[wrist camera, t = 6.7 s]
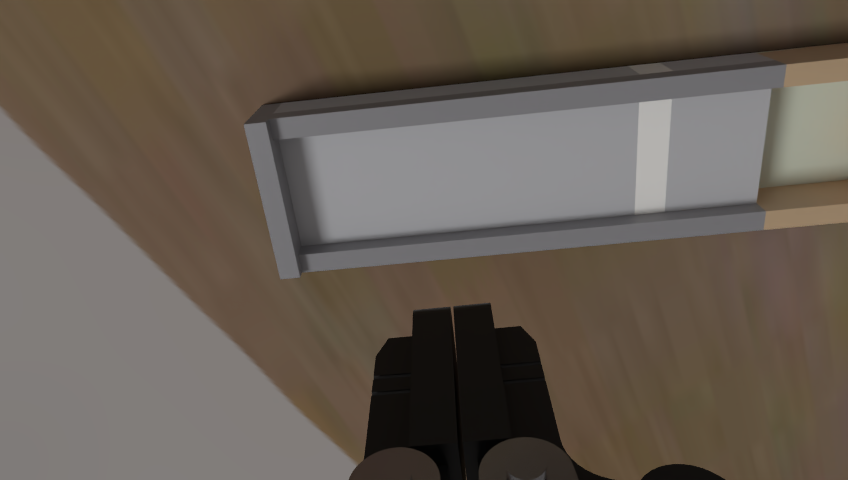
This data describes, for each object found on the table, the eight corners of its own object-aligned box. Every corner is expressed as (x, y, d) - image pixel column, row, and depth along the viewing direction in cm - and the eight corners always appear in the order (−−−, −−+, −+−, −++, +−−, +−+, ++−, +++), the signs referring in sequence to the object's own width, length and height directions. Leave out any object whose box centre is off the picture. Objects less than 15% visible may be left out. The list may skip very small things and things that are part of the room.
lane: (262, 104, 32) (240, 127, 28) (972, 29, 30) (1046, 43, 26) (293, 247, 35) (278, 283, 31) (931, 187, 33) (992, 219, 30)
